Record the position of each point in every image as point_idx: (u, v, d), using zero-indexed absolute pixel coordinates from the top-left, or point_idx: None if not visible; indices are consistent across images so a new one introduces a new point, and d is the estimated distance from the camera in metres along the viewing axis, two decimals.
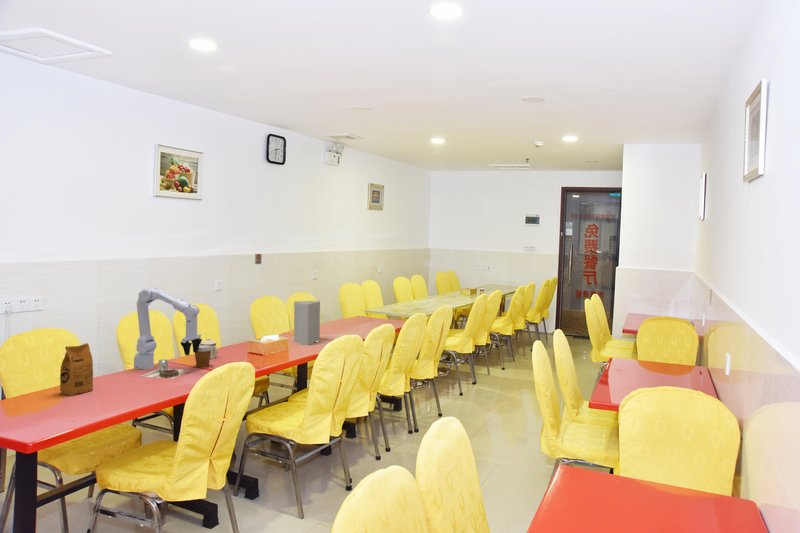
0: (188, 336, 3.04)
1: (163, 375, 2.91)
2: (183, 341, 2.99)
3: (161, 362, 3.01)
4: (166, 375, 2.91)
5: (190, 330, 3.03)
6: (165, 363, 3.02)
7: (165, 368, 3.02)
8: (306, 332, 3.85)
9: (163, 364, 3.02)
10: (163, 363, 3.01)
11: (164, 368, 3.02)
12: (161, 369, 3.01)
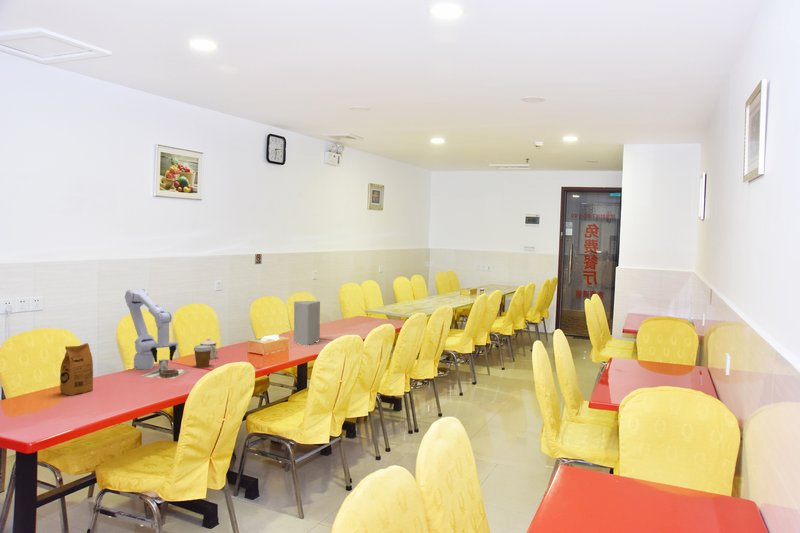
0: (157, 343, 3.01)
1: (163, 375, 2.91)
2: (148, 347, 2.98)
3: (161, 362, 3.01)
4: (166, 375, 2.91)
5: (158, 337, 3.00)
6: (165, 363, 3.02)
7: (165, 368, 3.02)
8: (306, 332, 3.85)
9: (163, 364, 3.02)
10: (163, 363, 3.01)
11: (164, 368, 3.02)
12: (161, 369, 3.01)
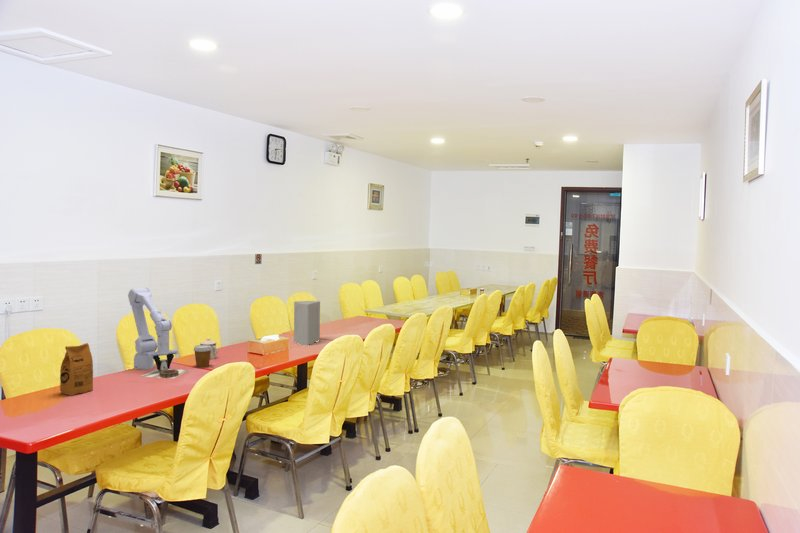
0: (157, 351, 3.01)
1: (163, 375, 2.91)
2: (148, 355, 2.99)
3: (161, 362, 3.01)
4: (166, 375, 2.91)
5: (158, 345, 3.00)
6: (165, 363, 3.02)
7: (165, 368, 3.02)
8: (306, 332, 3.85)
9: (163, 364, 3.02)
10: (163, 363, 3.01)
11: (164, 368, 3.02)
12: (161, 369, 3.01)
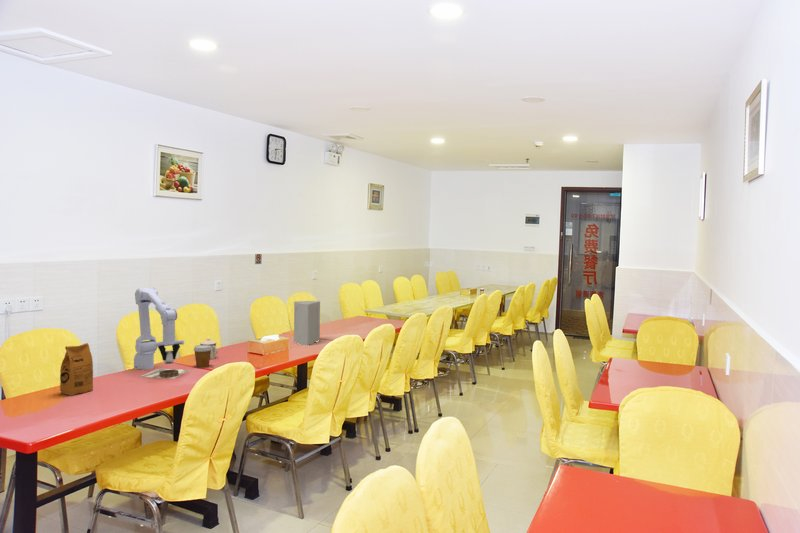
0: (163, 341, 2.93)
1: (163, 375, 2.91)
2: (154, 345, 2.91)
3: (166, 353, 2.93)
4: (166, 375, 2.91)
5: (164, 335, 2.92)
6: (171, 354, 2.94)
7: (171, 359, 2.94)
8: (306, 332, 3.85)
9: (169, 355, 2.94)
10: (169, 354, 2.94)
11: (169, 360, 2.94)
12: (167, 360, 2.93)
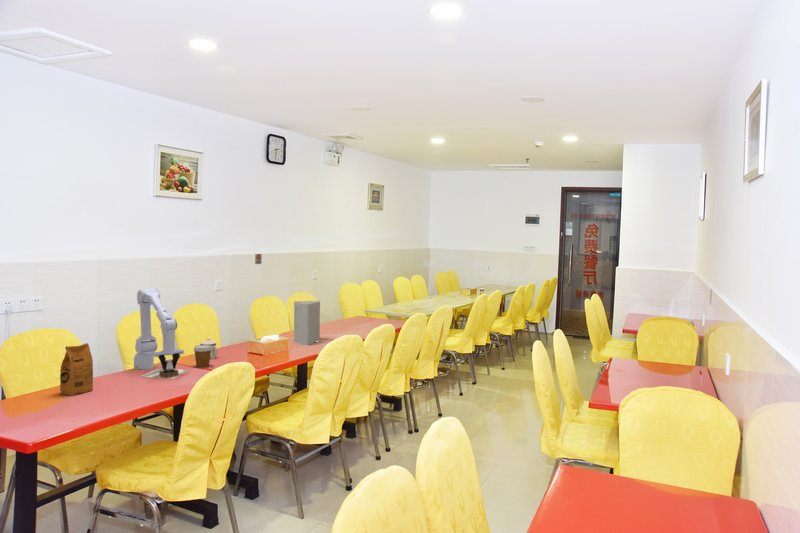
0: (163, 350, 2.93)
1: (163, 375, 2.91)
2: (154, 355, 2.91)
3: (166, 362, 2.94)
4: (166, 375, 2.91)
5: (164, 344, 2.93)
6: (171, 363, 2.94)
7: (171, 369, 2.94)
8: (306, 332, 3.85)
9: (169, 364, 2.94)
10: (169, 363, 2.94)
11: (169, 369, 2.94)
12: (167, 370, 2.94)
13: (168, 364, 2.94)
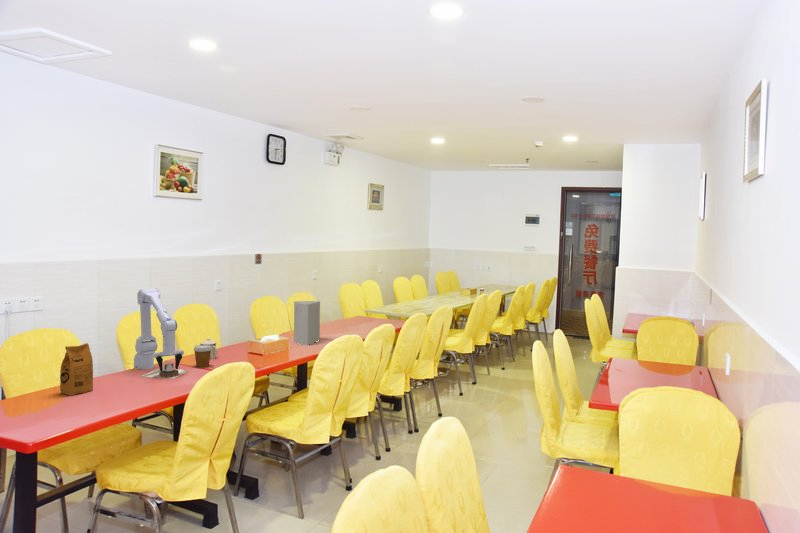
0: (163, 351, 2.93)
1: (163, 375, 2.91)
2: (154, 356, 2.91)
3: (166, 366, 2.94)
4: (166, 375, 2.91)
5: (164, 345, 2.93)
6: (171, 367, 2.94)
7: (171, 372, 2.95)
8: (306, 332, 3.85)
9: (169, 368, 2.94)
10: (169, 367, 2.94)
11: (169, 372, 2.94)
12: None
13: (168, 367, 2.94)
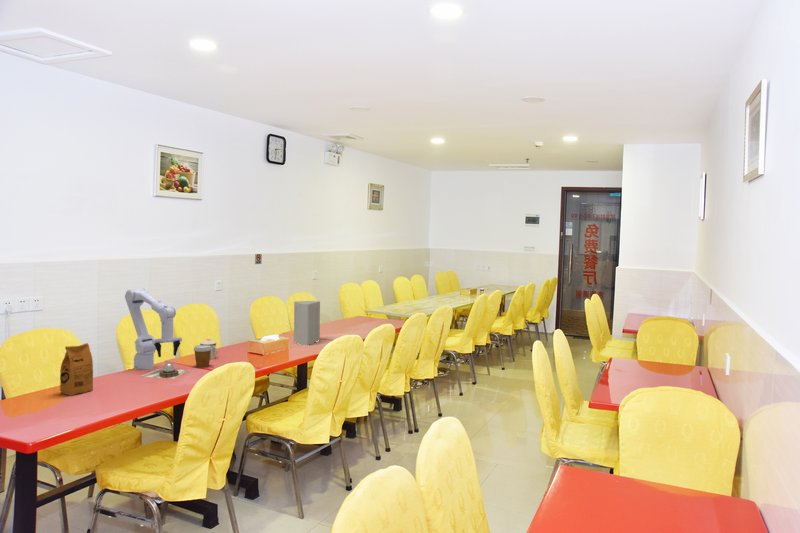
0: (161, 338, 3.01)
1: (163, 375, 2.91)
2: (152, 342, 2.98)
3: (167, 366, 2.94)
4: (166, 375, 2.91)
5: (162, 332, 3.00)
6: (171, 367, 2.94)
7: (171, 372, 2.95)
8: (306, 332, 3.85)
9: (169, 368, 2.94)
10: (169, 367, 2.94)
11: (169, 372, 2.94)
12: None
13: (168, 367, 2.94)
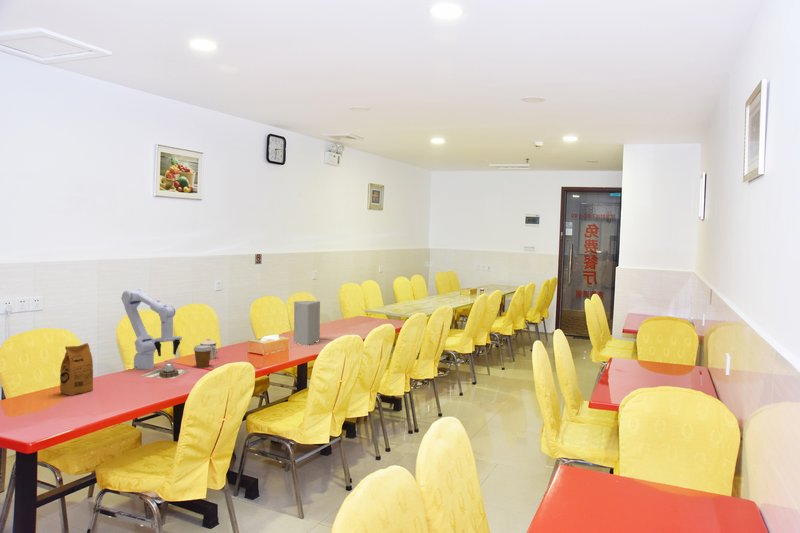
0: (161, 337, 3.03)
1: (163, 375, 2.91)
2: (152, 341, 3.00)
3: (166, 366, 2.94)
4: (166, 375, 2.91)
5: (162, 331, 3.02)
6: (171, 367, 2.94)
7: (171, 372, 2.95)
8: (306, 332, 3.85)
9: (168, 368, 2.94)
10: (168, 367, 2.94)
11: (169, 372, 2.94)
12: None
13: (168, 367, 2.94)
